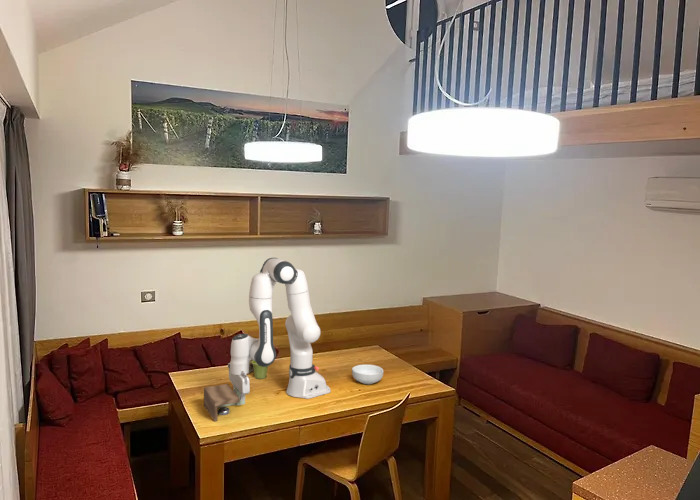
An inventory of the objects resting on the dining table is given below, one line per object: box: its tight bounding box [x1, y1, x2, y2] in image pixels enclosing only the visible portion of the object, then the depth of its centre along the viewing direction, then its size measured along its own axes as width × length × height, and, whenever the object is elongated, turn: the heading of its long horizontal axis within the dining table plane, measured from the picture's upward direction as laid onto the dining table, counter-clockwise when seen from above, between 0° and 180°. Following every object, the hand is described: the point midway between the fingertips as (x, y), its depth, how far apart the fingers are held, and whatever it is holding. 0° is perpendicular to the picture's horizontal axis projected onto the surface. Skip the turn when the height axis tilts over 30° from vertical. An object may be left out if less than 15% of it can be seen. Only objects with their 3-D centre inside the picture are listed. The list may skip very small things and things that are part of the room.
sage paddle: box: [217, 388, 246, 409], centre depth 260 cm, size 16×4×7 cm, turn 120°
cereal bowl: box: [351, 364, 384, 385], centre depth 298 cm, size 17×17×7 cm
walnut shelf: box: [203, 383, 240, 422], centre depth 253 cm, size 11×18×9 cm, turn 30°
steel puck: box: [217, 406, 230, 416], centre depth 252 cm, size 5×5×2 cm
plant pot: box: [252, 360, 269, 380], centre depth 298 cm, size 9×9×9 cm
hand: (238, 396), depth 263 cm, fingers open, 8 cm apart
